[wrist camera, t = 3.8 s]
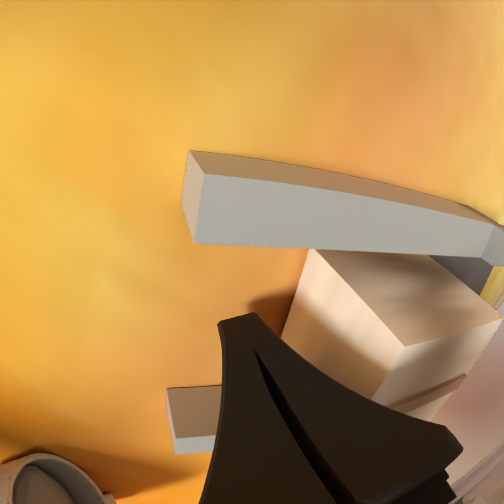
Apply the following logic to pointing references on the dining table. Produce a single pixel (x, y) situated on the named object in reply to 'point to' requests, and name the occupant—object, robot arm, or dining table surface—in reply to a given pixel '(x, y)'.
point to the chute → (309, 236)
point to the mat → (466, 270)
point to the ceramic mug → (48, 482)
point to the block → (389, 326)
